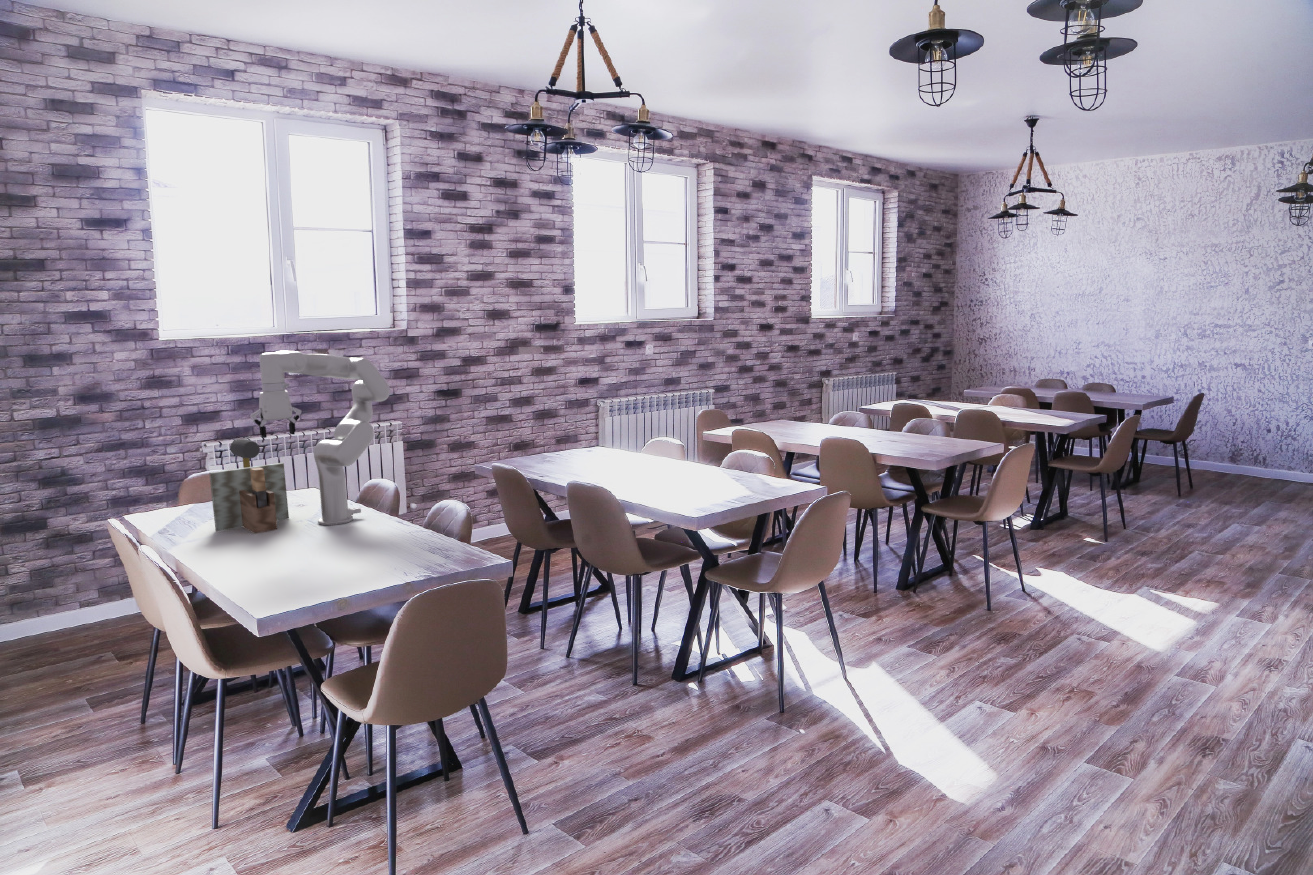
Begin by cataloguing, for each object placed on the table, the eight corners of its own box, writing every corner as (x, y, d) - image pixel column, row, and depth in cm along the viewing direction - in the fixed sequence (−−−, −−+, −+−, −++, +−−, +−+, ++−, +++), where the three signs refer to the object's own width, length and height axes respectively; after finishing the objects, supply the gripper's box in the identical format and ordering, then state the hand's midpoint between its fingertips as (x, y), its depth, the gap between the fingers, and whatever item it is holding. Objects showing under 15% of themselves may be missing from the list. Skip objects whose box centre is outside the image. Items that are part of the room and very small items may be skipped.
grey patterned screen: (287, 517, 334) (281, 462, 330) (301, 524, 322) (296, 467, 319) (215, 530, 317) (209, 472, 313) (228, 538, 305) (222, 478, 301)
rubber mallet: (267, 512, 343) (260, 439, 339) (249, 516, 338) (241, 441, 333) (253, 508, 351) (246, 436, 347) (235, 512, 346) (227, 439, 341)
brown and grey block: (262, 504, 318) (259, 467, 316) (267, 506, 314) (263, 468, 312) (253, 505, 316) (250, 468, 314) (258, 507, 312) (254, 470, 310)
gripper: (295, 385, 308) (299, 432, 311) (244, 389, 297) (249, 437, 299) (302, 386, 303) (306, 433, 305) (251, 390, 291) (256, 439, 294)
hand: (278, 435), depth 302 cm, fingers open, 9 cm apart
